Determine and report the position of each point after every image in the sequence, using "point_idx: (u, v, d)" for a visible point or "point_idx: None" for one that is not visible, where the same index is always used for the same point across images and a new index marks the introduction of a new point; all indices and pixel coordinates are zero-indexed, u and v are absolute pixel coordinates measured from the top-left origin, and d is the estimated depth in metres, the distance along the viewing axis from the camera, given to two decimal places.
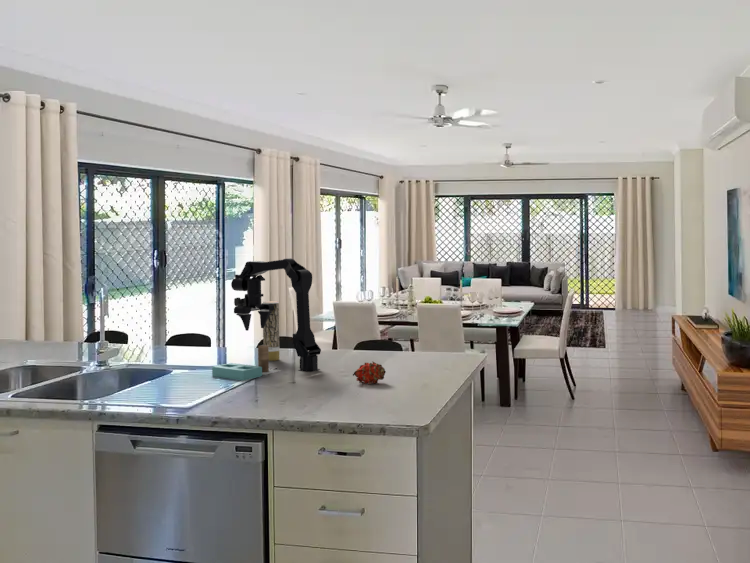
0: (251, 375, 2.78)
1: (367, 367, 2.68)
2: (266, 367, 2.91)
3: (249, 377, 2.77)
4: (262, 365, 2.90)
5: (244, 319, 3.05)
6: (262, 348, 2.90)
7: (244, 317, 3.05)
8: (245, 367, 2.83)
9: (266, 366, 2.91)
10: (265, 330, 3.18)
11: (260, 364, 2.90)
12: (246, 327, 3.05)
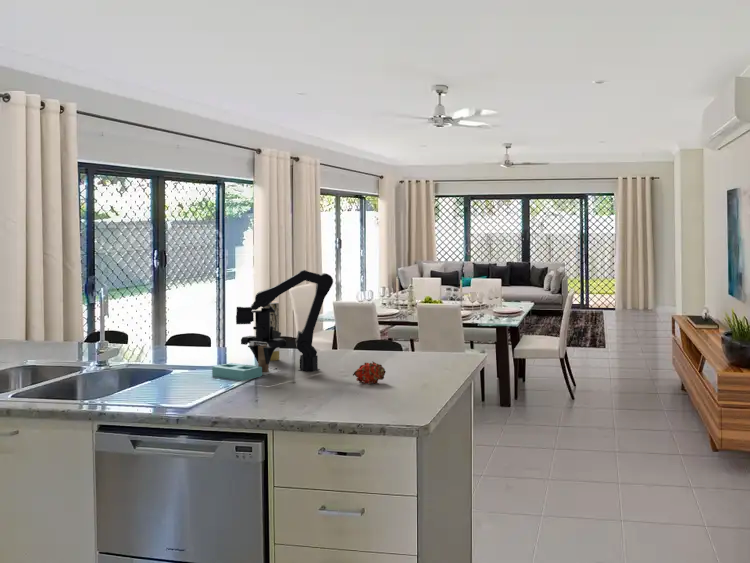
0: (251, 375, 2.78)
1: (367, 367, 2.68)
2: (266, 367, 2.91)
3: (249, 377, 2.77)
4: (262, 365, 2.90)
5: None
6: (262, 348, 2.90)
7: None
8: (245, 367, 2.83)
9: (266, 366, 2.91)
10: None
11: (260, 364, 2.90)
12: None
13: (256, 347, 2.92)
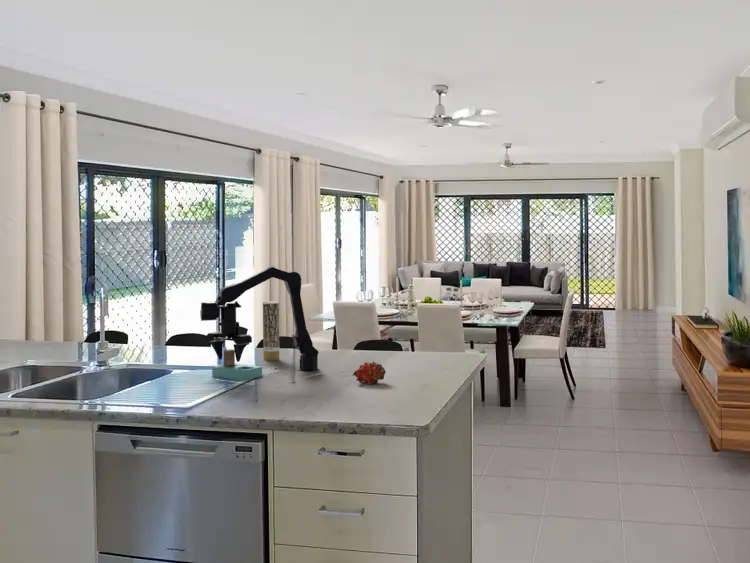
0: (251, 375, 2.78)
1: (367, 367, 2.68)
2: None
3: (249, 377, 2.77)
4: None
5: None
6: (228, 352, 2.82)
7: None
8: (245, 367, 2.83)
9: None
10: (265, 330, 3.18)
11: None
12: None
13: (217, 343, 2.86)
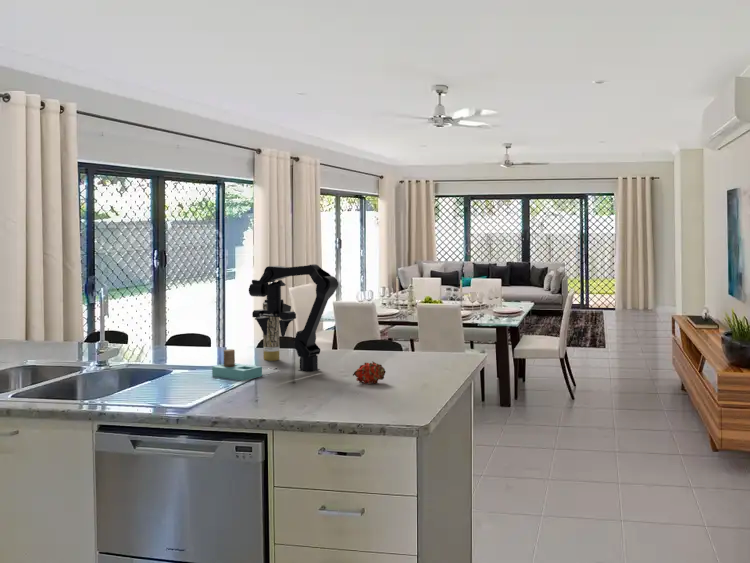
0: (251, 375, 2.78)
1: (367, 367, 2.68)
2: None
3: (249, 377, 2.77)
4: None
5: None
6: (228, 352, 2.82)
7: None
8: (245, 367, 2.83)
9: None
10: None
11: None
12: None
13: (262, 319, 3.03)
